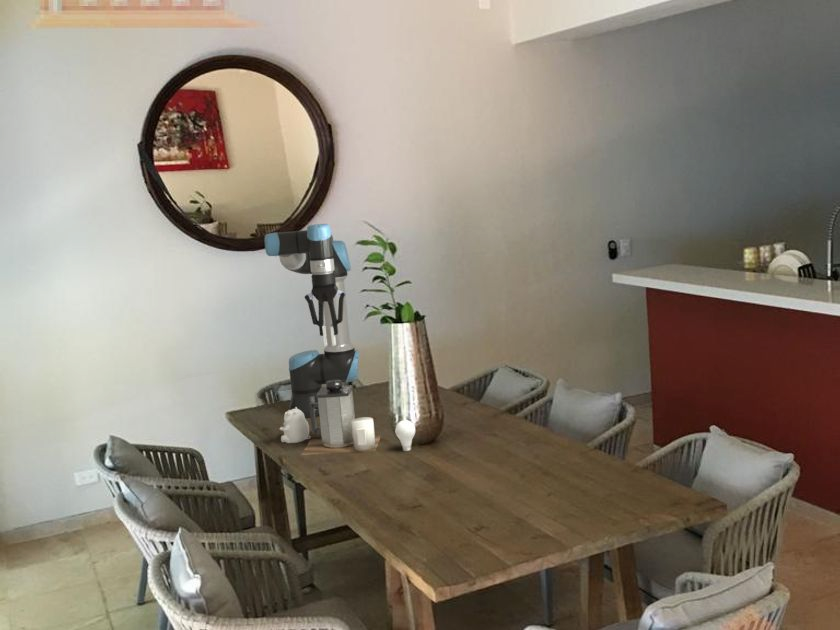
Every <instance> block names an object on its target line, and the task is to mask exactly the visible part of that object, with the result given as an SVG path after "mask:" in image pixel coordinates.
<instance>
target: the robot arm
mask: <svg viewBox="0 0 840 630" xmlns="http://www.w3.org/2000/svg"><path fill="white" fill-rule="evenodd" d="M331 230H332V229H331V225H330V224H328V223H317V224H310V225H308V226H307V227H306V229H305V230H293V231H282V232H281V231H280V232H275V231H274V232H270V233H266V234H265V235H264V248H265V253H266V255H267V256H268V257H279V261H280V264H281V265H282V266H283V267H284V268H285V269H286V270H288V271H291V272H292V273H293V272H294V273H297V274H300V275H311V285H312V288H311V290H310V293H307V294H305V295H304V299H305V301H306V303H307V305H308V308H309V313H310V316H311V321H312V324H313V325H315V326H318V328H319V330H318V331H319V336H321V337H323V346H324V348H323V353H320V352H319V350H317V349H314V350H313V349H311V350H306V351H302V352H301V351H300V352H298V353H296V354H293V355H292V356H290V357H289V358H288V371H289V377H290V379H289V380H290V387H291V388H290V389H291V397H290V402H289V405H288V406H289V408H288V410H292V409H296V408H295V407H297V409H299V410H301V411H302V412H303V413H304V416H305V418H311V415H310V406H309V404H310V403H318V398H316V395H317V393H318V392H319V390H320V389H321V387H323V385H326V382H327V381H329V380H341V381H342V383H345V384H346V383H351V382H355V381H357V379H358V376H359V355H360V353H359V350H357V349H355V345H354V344H352V343H351V340H350V339H351V338H350V331H349V330H350V329H349V317H348V309H347V299H346V297H347V296H346V293H347V292H346V288H345V287H346V286H345V279H347V277H348V275H349V274H348V272H350V271H351V270H352V269H351V263H350V258H349V257H350V256H349V253H348V249H347V246H346V243H345V241H343V240H334V236H333V234H332V231H331ZM314 298H315V299H316V300H317V302H318V304H317V305H318V316H317V312H316V309H315V304H314V300H313V299H314ZM314 409H315V417H317V416H319V407H316V408H314Z"/></svg>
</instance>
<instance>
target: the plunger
mask: <svg viewBox="0 0 840 630" xmlns="http://www.w3.org/2000/svg"><path fill="white" fill-rule="evenodd" d="M342 386H343V385H342V381H341V380H329V381H327V382H326V384H325V387H327V390H330V391H337V390H339V389H342Z"/></svg>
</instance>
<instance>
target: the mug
mask: <svg viewBox="0 0 840 630" xmlns="http://www.w3.org/2000/svg"><path fill="white" fill-rule="evenodd" d="M351 423H352V434H353V444H354V449H355V450H358V451H361V452H367V451H366V450H371V449H373V448H375V447H376V444H375V436H376V434H375V423H374V418H373V417H370V416H369V417H368V416H363V417H357V418H356V417H355V419H353V420H352V421H351Z"/></svg>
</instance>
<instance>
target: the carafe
mask: <svg viewBox="0 0 840 630" xmlns="http://www.w3.org/2000/svg"><path fill="white" fill-rule="evenodd" d="M353 387H354V386H353V385H351V384H349V385H342V389H339V390H337V391H330V390H327V387H326V386H322V387H321V389H320V390H319V392H318V393H317V395H316V398H318V403H310V404H309V406H310V415H311V417H310V423H311V432H312V434H313V435H315V434H317V435H318V434H321V439H322V443H323V446H324V447H326V448H344V447H349V446H352V445H354V444H353V434H352V423H351V421H352V420H353V419H356V417H355V415H356V414H355V408H354V407H355V404H354V396H353V395H354V394H353V389H354V388H353ZM316 407H319V415H318V416H319V424H320V426H319V427H320V428H317V420H316V419H317V418H316V416H315V409H314V408H316Z"/></svg>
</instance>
